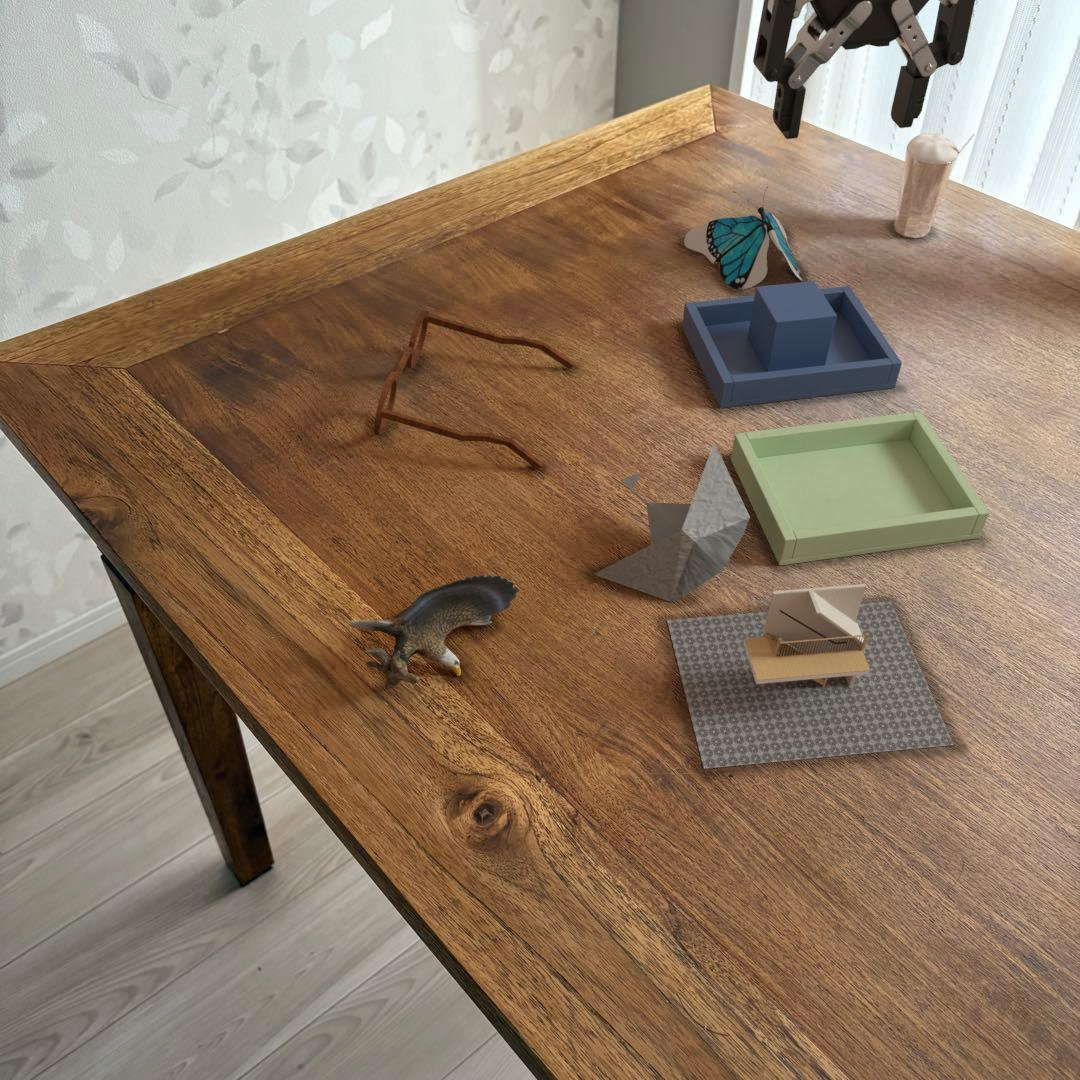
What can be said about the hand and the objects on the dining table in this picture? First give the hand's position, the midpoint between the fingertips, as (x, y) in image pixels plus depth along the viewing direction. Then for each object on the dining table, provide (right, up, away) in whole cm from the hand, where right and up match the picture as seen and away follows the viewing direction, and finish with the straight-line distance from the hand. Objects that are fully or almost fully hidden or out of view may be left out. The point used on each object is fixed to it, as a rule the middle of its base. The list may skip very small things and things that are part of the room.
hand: (844, 128), depth 80 cm
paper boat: (-13, -30, -3) cm, 33 cm away
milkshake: (+14, 0, +27) cm, 30 cm away
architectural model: (-6, -38, -11) cm, 40 cm away
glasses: (-27, -19, +8) cm, 34 cm away
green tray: (+1, -26, +1) cm, 26 cm away
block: (-2, -14, +12) cm, 18 cm away
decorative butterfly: (-2, -4, +23) cm, 23 cm away
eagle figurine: (-28, -37, -9) cm, 47 cm away
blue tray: (-2, -14, +12) cm, 19 cm away
